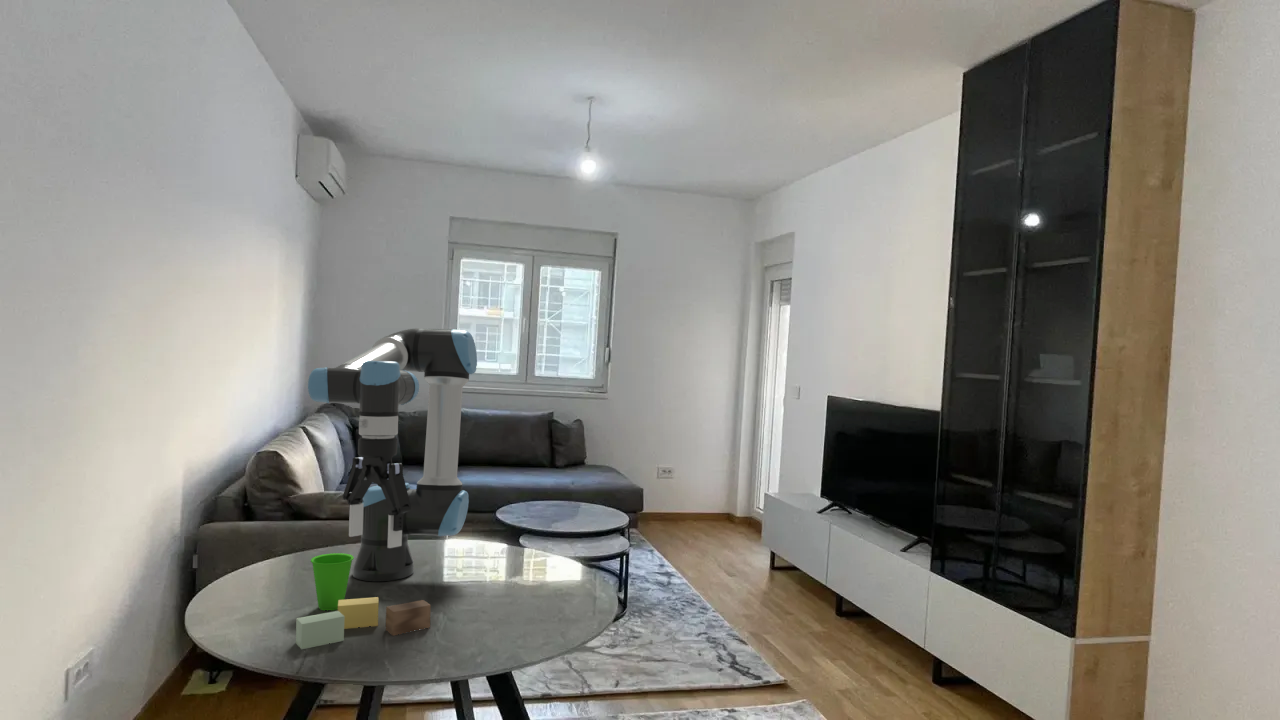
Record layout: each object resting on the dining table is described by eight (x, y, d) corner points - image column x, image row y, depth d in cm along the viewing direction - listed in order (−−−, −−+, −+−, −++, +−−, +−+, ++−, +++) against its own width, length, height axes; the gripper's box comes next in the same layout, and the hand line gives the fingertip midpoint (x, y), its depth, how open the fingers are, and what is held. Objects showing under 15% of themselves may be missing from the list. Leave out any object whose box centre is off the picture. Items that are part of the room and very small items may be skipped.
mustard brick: (337, 630, 156) (337, 606, 156) (337, 623, 160) (338, 600, 160) (377, 626, 159) (378, 602, 159) (377, 620, 163) (378, 597, 163)
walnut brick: (392, 636, 154) (393, 611, 154) (385, 630, 157) (386, 606, 157) (430, 628, 159) (430, 604, 159) (422, 623, 162) (423, 599, 162)
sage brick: (301, 650, 145) (302, 624, 145) (295, 643, 149) (296, 618, 149) (343, 641, 150) (344, 616, 150) (337, 635, 154) (338, 610, 154)
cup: (360, 603, 173) (362, 555, 173) (332, 616, 164) (334, 565, 164) (329, 598, 176) (330, 551, 176) (299, 610, 167) (301, 560, 167)
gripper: (327, 432, 158) (324, 534, 157) (399, 443, 143) (395, 555, 142) (359, 430, 164) (356, 528, 163) (431, 440, 148) (428, 548, 148)
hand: (374, 541), depth 153 cm, fingers open, 13 cm apart
